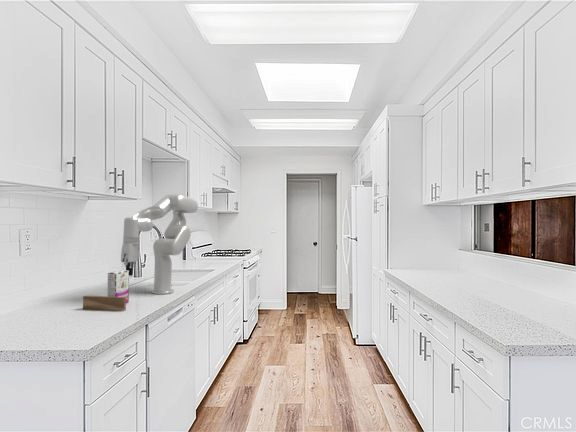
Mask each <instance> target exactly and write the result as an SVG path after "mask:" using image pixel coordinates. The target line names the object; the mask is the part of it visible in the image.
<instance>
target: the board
mask: <svg viewBox="0 0 576 432" xmlns="http://www.w3.org/2000/svg"><path fill="white" fill-rule="evenodd" d="M126 309H127V303H126V297H108V295H107V296H105V295H104V296H103V295H84V296H82V310H96V311H116V312H118V311H119V312H125V311H126Z"/></svg>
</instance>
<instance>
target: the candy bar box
mask: <svg viewBox="0 0 576 432" xmlns="http://www.w3.org/2000/svg"><path fill="white" fill-rule="evenodd" d="M129 288H130V276H129V271H127V270H126V269H124V270H123V269H121V270H117V271H116V270H115V271H112V272H108V273H107V296H108V297H126V304H127V303H129V302H130V296H129V295H130V290H129Z"/></svg>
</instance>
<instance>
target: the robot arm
mask: <svg viewBox="0 0 576 432" xmlns="http://www.w3.org/2000/svg"><path fill="white" fill-rule="evenodd" d="M198 209H199V203H198V202H197V201H196V199H194V198H191V197H188V196H186V195H184V194H183V195H182V194H166V195H164V196H163V197H162V198H161V199H160V200H158V201H157V202H156V203H154V204H153V205H152V206H149V207H146V208H145V209H142V210H140V211H138V212H136V213H135V214H133V215H132V216H131V217H125V218H124V220H123V237H122V239H123V240H122V246H121V247H122V248H121V252H120V253H121V254H120V262H121V263H123V266H125V270H127V271H129V277H131V276H134V267H135V264H136V262H137V261H138V259H139V258H138V257H139V246H138V244H139V238H140V236H139V235H140V232H144V233H145V232H147V233H148V232H149V231H151V230H152V229H153V228H154V222H153V221H155V220H160V219H162V218H163V217H165V216H166V215H167V214H169V212H171V211H172V214H173V215H172V220H171V221H170V223H169V224H168V226H167V227H166V229H165V231H164V234H163V236H164V238H163V237H161V238H158V239H156V240H155V241H154V242H153V245H152V247H153V255H154V274H153V275H154V279H153V282H154V283H153V289H151V291H150V292H151V294H154V295H167V294H172V293H174V291H175V290H174V289H172V286H173V284H172V265H173V263H172V258H171V256H178V255H181V253H182V252H183V250H184V249H185V248H186V245H187V244H188V243H189V240H190V238H191V234H192V233H191V232H192V231H191V229H190V228H189V226H187V225H186V224H187V219H186V216H185V214H193V213H196V212H197V210H198Z"/></svg>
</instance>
